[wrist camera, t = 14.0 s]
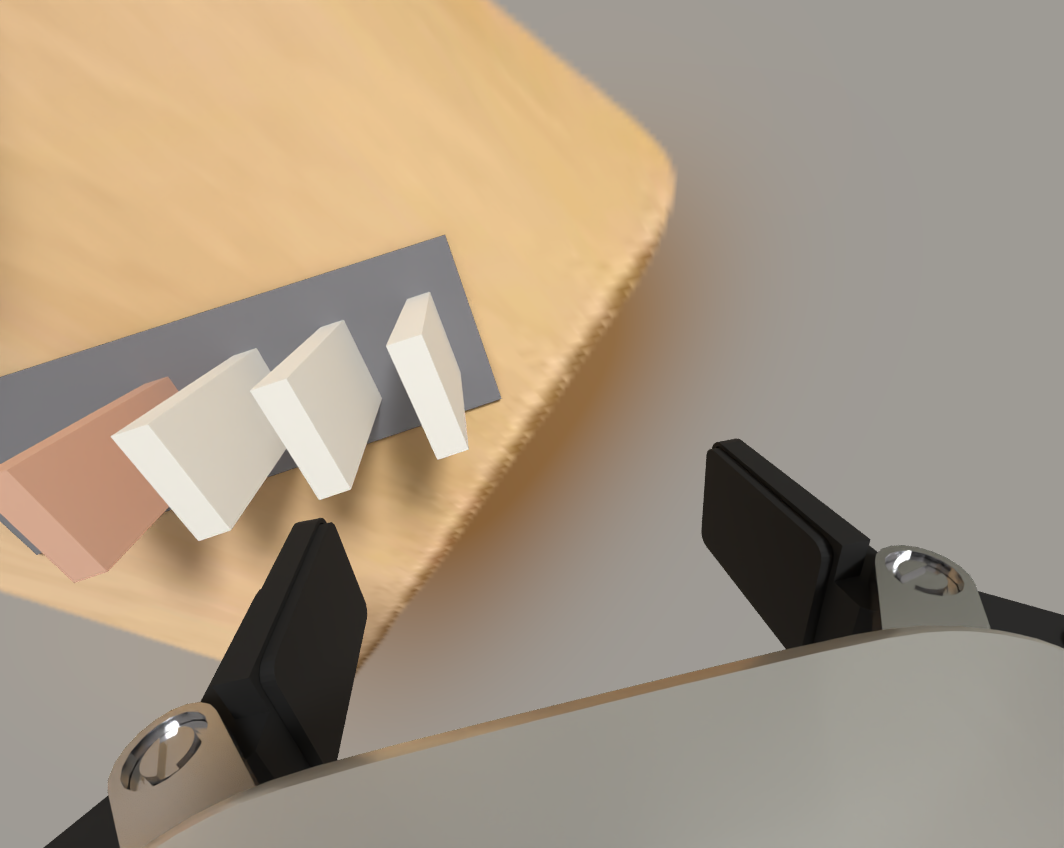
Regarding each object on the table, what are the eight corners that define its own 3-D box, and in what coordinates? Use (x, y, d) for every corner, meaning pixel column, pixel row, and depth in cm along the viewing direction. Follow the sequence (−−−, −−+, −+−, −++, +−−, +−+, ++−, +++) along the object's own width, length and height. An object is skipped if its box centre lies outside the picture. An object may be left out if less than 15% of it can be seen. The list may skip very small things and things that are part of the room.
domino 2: (256, 347, 29) (148, 424, 18) (302, 424, 32) (231, 530, 21) (232, 355, 29) (110, 436, 18) (281, 432, 32) (198, 541, 21)
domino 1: (167, 376, 29) (6, 470, 18) (221, 451, 32) (107, 571, 21) (143, 383, 29) (-33, 482, 18) (199, 458, 32) (74, 582, 21)
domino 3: (343, 319, 29) (286, 378, 19) (381, 398, 32) (351, 489, 21) (320, 327, 29) (249, 390, 19) (360, 405, 32) (319, 500, 21)
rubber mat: (444, 234, 29) (444, 235, 28) (500, 396, 34) (501, 398, 34) (-109, 412, 27) (-117, 414, 27) (41, 551, 33) (36, 554, 32)
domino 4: (429, 291, 30) (421, 334, 19) (460, 372, 32) (468, 449, 22) (407, 299, 30) (385, 346, 19) (439, 379, 32) (437, 459, 22)
